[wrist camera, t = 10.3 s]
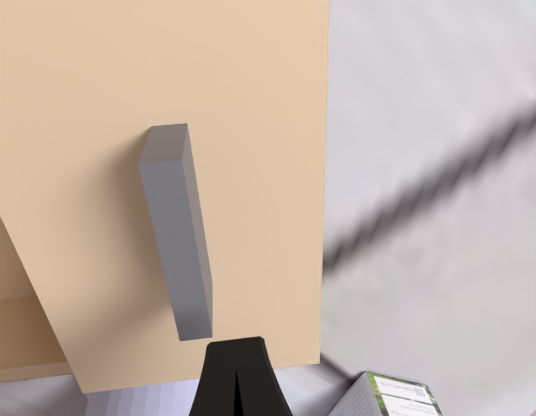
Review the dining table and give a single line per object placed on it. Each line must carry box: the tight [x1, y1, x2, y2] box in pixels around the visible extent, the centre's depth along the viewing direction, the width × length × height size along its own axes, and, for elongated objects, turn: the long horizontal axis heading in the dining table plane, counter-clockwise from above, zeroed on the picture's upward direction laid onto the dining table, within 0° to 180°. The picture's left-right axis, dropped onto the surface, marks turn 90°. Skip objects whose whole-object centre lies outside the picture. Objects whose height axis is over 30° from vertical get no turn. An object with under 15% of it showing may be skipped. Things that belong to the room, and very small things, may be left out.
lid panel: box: [0, 0, 329, 394], centre depth 12 cm, size 16×10×3 cm, turn 3°
